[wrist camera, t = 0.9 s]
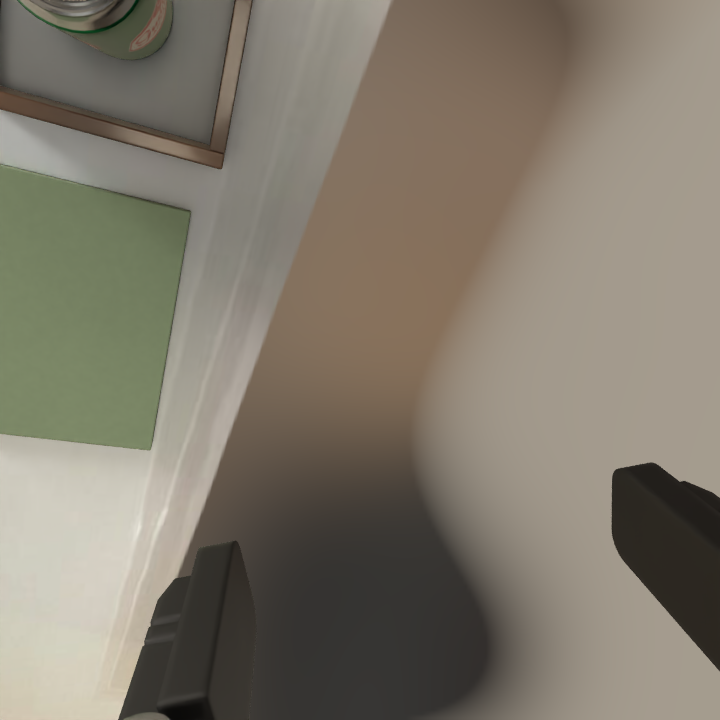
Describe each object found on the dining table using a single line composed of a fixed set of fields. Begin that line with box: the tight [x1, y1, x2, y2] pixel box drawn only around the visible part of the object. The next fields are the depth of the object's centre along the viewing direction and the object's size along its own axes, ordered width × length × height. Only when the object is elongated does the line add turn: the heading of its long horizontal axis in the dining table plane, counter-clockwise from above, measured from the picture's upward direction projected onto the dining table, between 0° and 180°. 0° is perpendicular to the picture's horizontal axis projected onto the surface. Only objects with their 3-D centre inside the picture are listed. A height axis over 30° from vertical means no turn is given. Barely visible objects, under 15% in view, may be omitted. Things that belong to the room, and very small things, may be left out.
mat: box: [0, 164, 191, 450], centre depth 34 cm, size 12×17×1 cm
